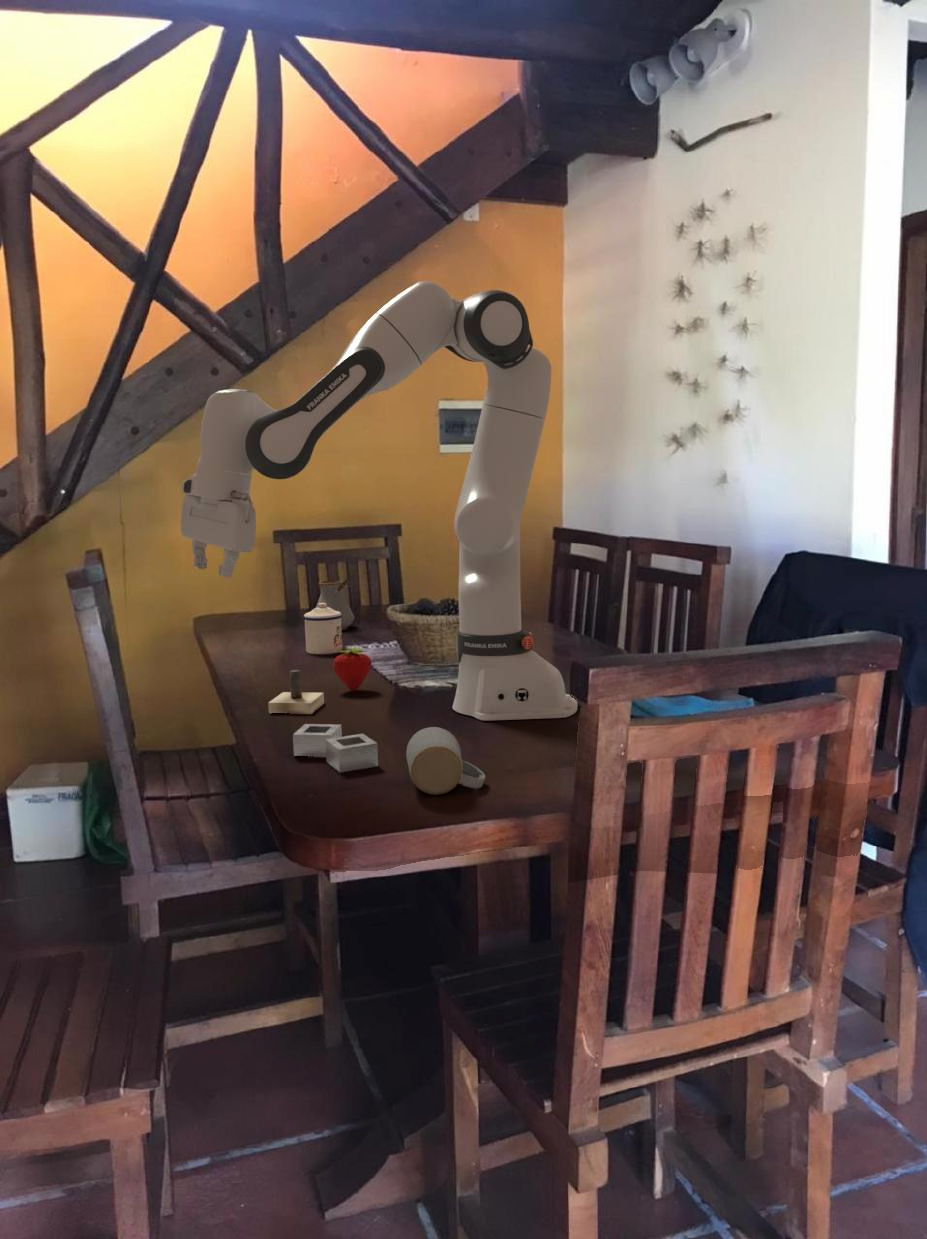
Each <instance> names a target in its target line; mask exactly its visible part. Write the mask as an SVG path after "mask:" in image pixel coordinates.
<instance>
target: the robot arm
mask: <svg viewBox="0 0 927 1239" xmlns="http://www.w3.org/2000/svg"><path fill="white" fill-rule="evenodd" d="M530 329H531V328H530V322H529V317H528V313H527V311H526V309H525V306H524V304H523V303H522V302H521V301H520V300H519V299H518V298H517V297H516V296H515V295H513V294H511V293H510V292H507V291H505V290H499V289H492V290H486V291H481V292H479V293H475V294H472V295H470V296H469V297H465V298H463V299H461V300H457V299H455V298H454V297H452V296H451V295H450V293H449V292H448V291H447V290H446V289H445V288H444V287H442V286H441V285H440V284H437V283H435V282H433V281H430V280H422V281H418V282H416V283H415V284H413V285H411V286H409V287H408V288H406V289H405V290H403V291H402V292H400V293H399V294H397V295H396V296H395V297H393V298H392V299H391V300H389V301H388V302H387V303H386V304H384V306H382V307H381V308H379V309H378V311H377V312H375V313H374V314H373V315H372V316H371V317H370V318H369V319H368V320H367V321H366V322H365V323H364V324H363V325H362V326H361V328H360V329H359V330H358V332H357V333H356V334H355V335H354V336H353V338H352V339H351V340H350V342H349V344H348V345H347V346H346V348H345V350H344V352H343V353H342V354H341V356H340V358H339V360H338V361H337V362H336V363H335V364H334V366H333V367H332V368H331V370H329V371H328V372H327V374H325V375H324V376H323V377H322V378H321V379H319V381H317V382H316V383H315V384H314V385H313V386H312V387H311V388H310V389H309V390H307V391H306V392H305V393H303V395H301V397H299V398H298V399H297V400H296V401H295V402H294V403H292V404H291V405H290V406H287V407H285V408H282V409H279V410H276V409H274V408H273V407H271V406H270V405H269V404H267V402H265V401H264V400H262V399H261V398H260V396H258V395H257V393H256V392H254V391H252V390H248V389H239V388H238V389H237V388H234V389H232V388H231V389H223V390H220V389H219V390H217V391H216V392H213V393H212V394H211V395H210V396H209V397H208V399H207V400H206V403H205V405H204V406H205V407H204V411H203V414H202V420H201V426H200V433H199V446H200V454H199V458H198V461H197V462H196V467H195V468H196V469H195V473H194V474H193V475H191V476H190V477H189V478H187V479H184V481H182V486H181V493H182V495H183V494H184V497H183V500H182V503H181V511H180V512H181V514H180V531H181V535H182V537H183V538H186V539H187V540H188V539H189V540H192V541H191V550H192V555H193V565H192V566H193V567H194V568H195V569H199V570H206V569H207V567H208V560H209V559H208V558H206V557H207V556H206V555H207V554H206V549H207V548H208V545H210V546H213V547H217V548H221V549H223V553H222V554H223V556H224V557H223V561H222V564H219V565H218V566H219V567H218V575H219V576H220V577H223V578H232V577H233V576H234V568H235V566H236V565H237V564H236V563H237V562H238V560H239V558H240V553H251V552H252V551H253V549H254V547H255V544H256V543H255V541H256V529H257V528H256V527H257V515H256V514H257V512H256V509H255V507H254V503H253V501H252V499H251V495H250V492H251V484H252V483H251V482H252V474H253V470H256V471H257V472H258V473H259V474H260V475H262V476H264V477H266V478H269V479H272V480H286V479H290V478H292V477H295V476H297V475H298V474H300V473H301V472H302V471H303V470H304V469H306V467H307V466H308V464H309V463H310V460H311V457H312V455H313V451H314V449H315V447H316V444H317V443H318V441H319V440H320V438H321V437H322V436H323V435H324V433H326V432H327V431H328V429H330V428H331V427H332V426H333V425H334V424H336V422H338V420H340V419H341V418H342V417H343V416H344V415H345V414H346V413H347V412H348V411H349V410H350V409H352V408H353V406H355V405H356V404H358V403H360V401H362V400H364V399H365V398H367V397H369V396H372V395H374V394H378V393H380V392H386V391H388V390H390V389H391V388H393V387H395V386H397V385H398V384H400V383H401V382H403V381H404V380H405V379H407V378H408V377H409V376H411V375H412V374H413V373H415V371H417V370H418V369H419V368H420V367H421V366H422V365H423V364H424V363H425V362H426V361H428V359H429V358H430V357H431V356H432V355H433V354H435V353H436V352H438V351H440V349H442V348H445V349H447V350H448V351H450V352H452V354H454V355H455V356H456V357H459V358H460V359H462V360H465V361H467V362H472V363H476V362H477V363H483V365H484V368H485V370H486V376H487V384H486V386H487V387H486V391H485V394H484V398H483V403H482V407H481V411H480V415H479V420H478V424H477V428H476V433H475V437H474V441H473V442H474V443H473V445H472V449H471V452H470V458H469V461H468V464H467V469H466V472H465V476H464V478H463V483H462V488H461V490H460V491H461V492H460V494H459V499H458V503H457V505H456V511H455V514H454V520H453V528H454V533H455V536H456V539H457V540H458V542H459V552H458V554H459V555H458V556H459V557H458V558H459V561H458V564H459V565H458V616H459V617H458V618H459V619H458V621H459V626H458V627H459V630H458V631H457V635H456V656H457V661H458V664H459V665H458V676H457V677H458V678H457V684H456V691H455V696H454V699H453V703H452V709H453V710H454V711H455V712H456V713H459V714H462V715H465V716H470V717H474V718H475V719H477V720H480V721H485V722H486V721H509V720H511V721H512V720H513V721H514V720H534V719H535V720H537V719H538V720H540V719H560V718H561V719H562V718H567V717H570V716H572V715H574V714H576V712H577V711H578V708H579V707H578V706H579V705H578V700H577V699H576V700H577V701H576V700H575V699H574V698H572V697H571V696H572V695H571V694H568V693H566V687H565V682H564V679H563V676H562V674H561V671H560V670H559V669H557V668H556V667H555V666H553V664H551V663H550V662H549V661H547V660H545V658H543V657H541V656H540V654H537V653H536V652H535V651H534V650H533V649H534V644H535V643H534V642H535V640H534V638H533V637H534V636H533V634H532V632H531V631H530V632H528V631H526V630H524V629H523V628H522V606H521V605H522V602H521V601H522V600H521V599H522V598H521V520H522V517H523V512H524V508H525V504H526V500H527V496H528V491H529V488H530V483H531V479H532V475H533V471H534V467H535V463H536V459H537V456H538V455H537V454H538V451H539V446H540V442H541V439H542V438H541V437H542V434H543V429H544V426H545V421H546V417H547V412H548V407H549V402H550V394H551V384H552V382H551V381H552V364H551V361H550V359H549V358H548V356H546V355H545V354H544V353H543V352H542V351H540V350H538V349H537V348H535V347H533V346H534V341H533V336H532V333H531V330H530ZM570 695H571V696H570ZM577 707H578V708H577Z"/></svg>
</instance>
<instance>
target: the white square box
mask: <svg viewBox="0 0 927 1239" xmlns="http://www.w3.org/2000/svg"><path fill="white" fill-rule="evenodd" d="M325 743H326V757H325V759H326V763H327V764H329V766H331V767H332V768H333V769H335V770H336V771H337V772H338V773H340V774H341V773H344V772H345V773H346V772H351V771H358V770H365V769H368V768H375V767H379V756H378V755H379V754H378V753H379V752H378V750H379V749H378V743H377V741H375V740H373V739H372V738H370V737H368V735H365V734H364V733H357V734H351V735H345V736H342V737H338V738H331V739H325Z"/></svg>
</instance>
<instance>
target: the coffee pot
mask: <svg viewBox="0 0 927 1239" xmlns="http://www.w3.org/2000/svg"><path fill="white" fill-rule="evenodd" d="M347 583H349V586H348V585H347ZM318 585H319V586H320V588H321V589H322V590H321V593H320V595H319V598H318V601H317V603H316V607H315V608H318V604H319V603H326V607H329V608H331V609H333V610H335V611H339V612H340V613H341V615H342V617H341V628H342V630H343V631H344V630H346V629H348V628H349V626H350V625H352V624H353V622H354V620H355V615H354V613H353V611H352V609H351V607H350V605H349V602H348V601H347V598H346V596H345V594H344V592H343V591H342V590H343V589H344V588H345V587H346V585H347V588H349V587H350V586H351V582H350V581H349V580H347V579H344V580H324V581H323V580H322V581H319V582H318Z"/></svg>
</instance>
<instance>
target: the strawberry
mask: <svg viewBox="0 0 927 1239" xmlns="http://www.w3.org/2000/svg"><path fill="white" fill-rule="evenodd" d="M351 642H352V643H353V646H354V647H353V648H350V649H346V650H342V651H340V652H338V653H343V654H340V655H338V656H336V657H335V658H334V659H333V663H332V667H333V670H334V673H335V674H336V676H338V678H339V679H340V681H341V682H342V683H343V684H344V685H346V687H347V688H348V690H350V691H353V692H355V691H357V690H358V689H359V688H360V686H361V685H362V684H363V682H364V681H365V680H366V679H367V676H368V675H369V673H370V670H371V668H372V660H371V657H369V656H368V654H366V652H367V650H364V649H362V650H361V649H356V644H355V643H354V640H353V639H352V640H351Z"/></svg>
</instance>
